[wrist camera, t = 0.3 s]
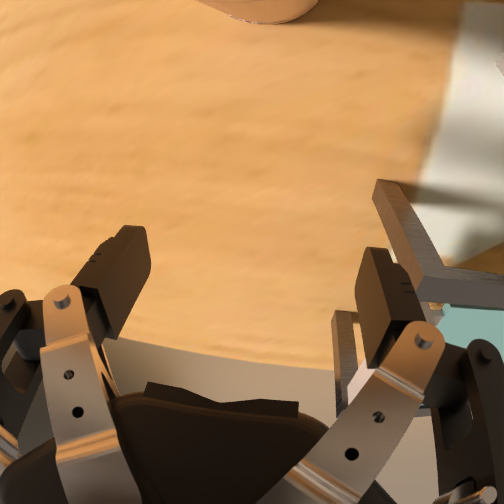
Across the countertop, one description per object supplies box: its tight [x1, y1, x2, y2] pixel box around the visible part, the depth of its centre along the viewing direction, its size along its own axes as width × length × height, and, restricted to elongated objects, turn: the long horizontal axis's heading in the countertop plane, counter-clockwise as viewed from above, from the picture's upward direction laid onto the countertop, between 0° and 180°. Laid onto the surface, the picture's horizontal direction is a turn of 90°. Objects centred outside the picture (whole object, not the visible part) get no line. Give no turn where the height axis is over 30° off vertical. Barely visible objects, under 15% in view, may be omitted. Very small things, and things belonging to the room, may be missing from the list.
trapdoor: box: [347, 301, 504, 405], centre depth 22 cm, size 17×14×2 cm
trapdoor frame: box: [331, 179, 504, 418], centre depth 27 cm, size 21×19×13 cm
